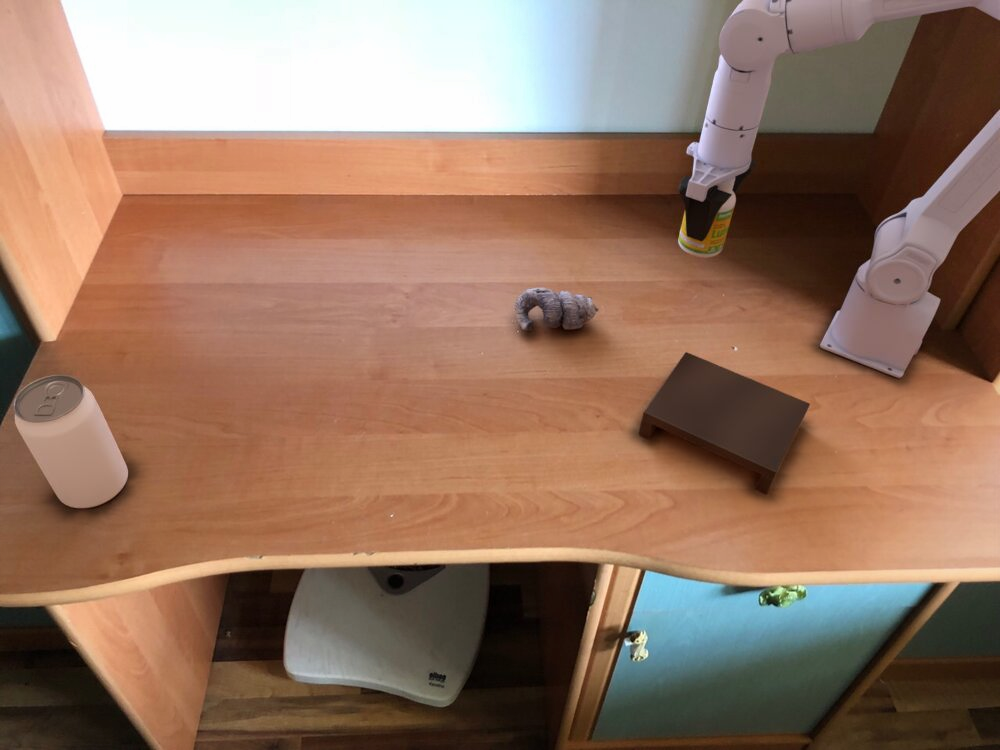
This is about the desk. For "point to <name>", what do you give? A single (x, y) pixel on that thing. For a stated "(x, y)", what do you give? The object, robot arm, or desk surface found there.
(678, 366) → the shelf
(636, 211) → the desk surface
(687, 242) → the supplement bottle
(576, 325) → the seashell
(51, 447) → the can
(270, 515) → the desk surface
